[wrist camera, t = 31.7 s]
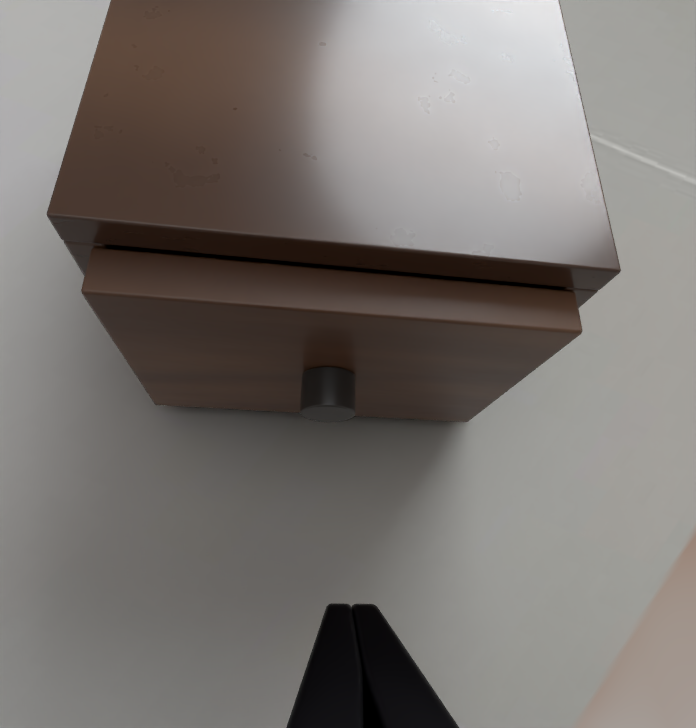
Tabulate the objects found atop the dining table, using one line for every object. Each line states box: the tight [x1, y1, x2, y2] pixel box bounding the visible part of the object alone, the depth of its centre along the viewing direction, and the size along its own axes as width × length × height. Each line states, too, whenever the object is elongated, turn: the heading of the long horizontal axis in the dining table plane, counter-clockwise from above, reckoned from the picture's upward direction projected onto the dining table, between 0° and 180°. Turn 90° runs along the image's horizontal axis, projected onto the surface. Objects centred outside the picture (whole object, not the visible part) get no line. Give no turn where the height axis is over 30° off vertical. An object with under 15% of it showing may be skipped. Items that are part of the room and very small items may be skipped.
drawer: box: [81, 248, 582, 422], centre depth 18 cm, size 16×12×8 cm
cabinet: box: [47, 0, 621, 308], centre depth 19 cm, size 16×13×10 cm
